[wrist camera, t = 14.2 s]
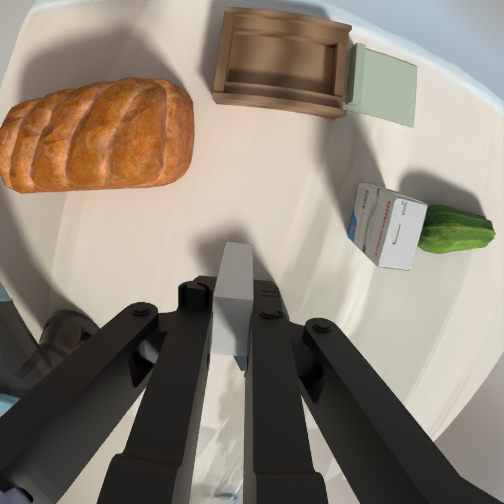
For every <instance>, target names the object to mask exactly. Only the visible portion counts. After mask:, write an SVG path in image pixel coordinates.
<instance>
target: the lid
mask: <svg viewBox="0 0 504 504" xmlns="http://www.w3.org/2000/svg"><path fill="white" fill-rule="evenodd" d="M416 88H417V66H414V65H411V64H409V63H406V62H404V61H401V60H398V59H395V58H392V57H390V56H387V55H384V54H381V53H377V52H374V51H371V50H368V49H365V45H364V44H361V43H356V44H355V45H350V44H348V45H347V53H346V68H345V82H344V93H343V98H344V103H343V109H344V110H348V111H352V112H356V113H361V114H365V115H368V116H372V117H376V118H380V119H383V120H387V121H390V122H394V123H397V124H400V125H404V126H407V127H410V128H413V127H414V116H415V104H416Z"/></svg>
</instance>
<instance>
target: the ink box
mask: <svg viewBox="0 0 504 504" xmlns="http://www.w3.org/2000/svg"><path fill="white" fill-rule="evenodd" d="M427 206H428V205H427V204H426V203H424V202H422V201H419V200H417V199H414V198H412V197H409V196H406V195H404V194H401V193H399V192H396V191H393V190H390V189H387V188H383V187H379V186H376V185H372V184H367V183H363V182H360V183H359V184H358V190H357V195H356V201H355V206H354V211H353V216H352V221H351V225H350V230H349V235H348V238H349V239H350V240H351V241H352V242H353V243H354V244H355V245H356V246H357V247H358V248H359V249H360V250H361V251H362V252H363V253H364V254H365V255H366V256H367V257H368V258H369V259H370V260H371V261H372V262H373V263H374V264H375V265H376V266H377V267H379V268H385V269H393V270H403V271H410V268H411V265H412V261H413V258H414V255H415V252H416V248H417V245H418V241H419V238H420V234H421V230H422V226H423V223H424V219H425V214H426V210H427Z"/></svg>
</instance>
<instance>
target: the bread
mask: <svg viewBox="0 0 504 504" xmlns="http://www.w3.org/2000/svg"><path fill="white" fill-rule="evenodd" d="M193 145H194V113H193V101H192V100H191V98H190V97H189V95H188V94H187V93H186V92H184V91H183V90H182V89H181V88H179V87H177V86H176V85H174V84H172V83H171V82H169V81H166V80H162V79H141V78H126V79H121V80H119V81H116V82H98V83H94V84H90V85H87V86H84V87H81V88H78V89H69V90H61V91H57V92H54V93H51V94H48V95H46V96H45V97H44V98H38V99H33V100H28V101H25V102H23V103H20V104H18V105H16V106H14V107H12V108H11V109H10V111H9V112H8V114H7V116H6V118H5V120H4V122H3V123H2V126H1V128H0V176H1V178H2V181H3V183H4V185H5V186H6V187H9V188H11V189H13V190H15V191H17V192H19V193H21V194H25V193H37V192H63V191H79V190H103V189H125V188H150V187H157V186H165V185H167V184H170V183H173V182H175V181H176V180H178V179H179V178H181V177H182V176H183V175H184V174H185V173H186V171H187V170H188V168H189V166H190V163H191V159H192V152H193Z"/></svg>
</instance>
